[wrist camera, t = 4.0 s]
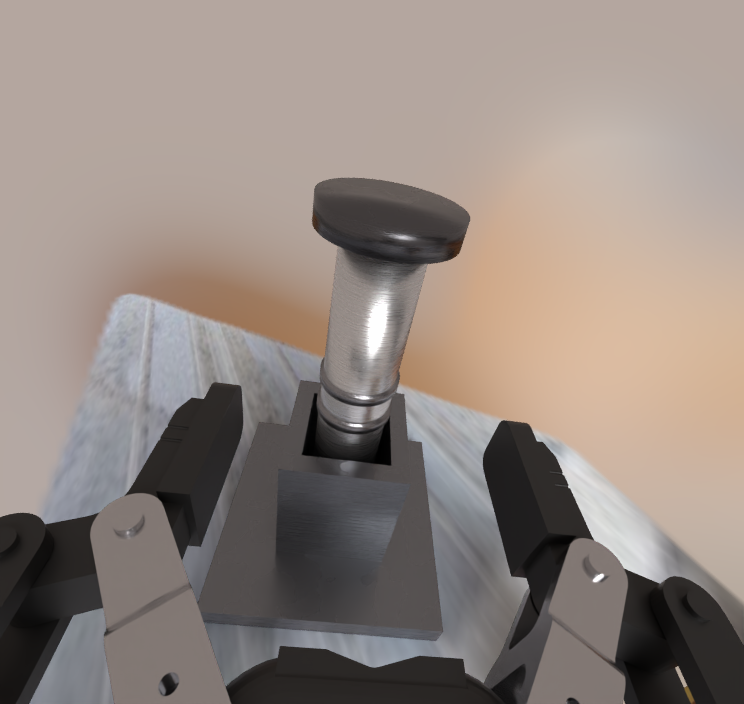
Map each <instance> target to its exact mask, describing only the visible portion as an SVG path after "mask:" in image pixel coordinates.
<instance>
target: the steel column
mask: <svg viewBox="0 0 744 704" xmlns="http://www.w3.org/2000/svg"><path fill="white" fill-rule="evenodd" d="M469 222H470V216H469V214H468V212H467V211H466V210H465V209H464V208H462V207H461V206H459V205H458V204H456V203H455V202H453V201H451V200H449V199H447V198H444V197H442V196H440V195H437V194H434V193H432V192H428V191H425V190H422V189H419V188H415V187H412V186H408V185H403V184H399V183H394V182H388V181H382V180H375V179H365V178H336V179H329V180H326V181H322V182H320V183H318V184H317V185H316V186H315V189H314V203H313V217H312V224H313V227H314V229H315V230H316V231H317V232H318V233H319V234H320V235H321V236H322V237H323V238H325V239H326V240H328V241H330V242H331V243H333V244H335V245H337V246H338V249H337V257H336V266H335V274H334V283H333V291H332V300H331V309H330V317H329V326H328V335H327V344H326V351H325V357H324V358H323V360H322V363H321V368H320V382H321V386H320V388H319V390H318V395H317V410H318V419H317V428H316V436H315V445H314V453H313V457H321V458H329V459H338V460H346V461H355V462H363V463H372V464H374V461H375V457H376V454H377V450H378V446H379V442H380V439H381V435H382V431H383V428H384V425H385V424H386V422H387V421H388V419H389V416H390V412H391V409H392V397H393V396H394V394H395V393H396V391H397V387H398V383H399V379H400V375H399V368H400V365H401V361H402V357H403V354H404V350H405V346H406V342H407V339H408V335H409V331H410V328H411V324H412V320H413V316H414V313H415V309H416V305H417V302H418V298H419V294H420V291H421V287H422V283H423V279H424V276H425V272H426V268H427V265H428V264H431V263H438V262H444V261H447V260H450V259H452V258H454V257H456V256H457V254H459V252H460V250H461V247H462V244H463V240H464V238H465V234H466V231H467V228H468V225H469Z"/></svg>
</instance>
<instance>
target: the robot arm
mask: <svg viewBox="0 0 744 704" xmlns="http://www.w3.org/2000/svg"><path fill="white" fill-rule="evenodd" d="M242 429H243V407H242V389H241V386H239V385H232V384H224V383H216V382H214V383H213V384H212V385H211V387H210V389H209V391H208V393H207V394H206V396H205V398H204V399H199V398H191V399H190V400H188V401H187V402H186V403H185V404H183V405H182V406H181V407H180V408H178V409H177V410H176V412H175V414H174V415H173V417H172V419H171V420H170V422H169V424H168V427H167V428H166V429H165V431H164V432H163V434H162V436H161V439H160V441H158V443H157V444H156V446H155V448H154V449H153V451H152V453H151V454H150V456H149V458H148V460H147V461H146V463H145V465H144V466H143V468H142V470H141V471H140V473H139V475H138V477H137V478H136V480H135V482H134V483H133V485H132V487H131V488H130V490H129V491H128V492H127V494H126V495H125V496H124V497H121V498H119V499H117V500H115V501H113V502H112V503H110V504H109V505H107V506H106V507H105V508H104V509H103V510H102V511H101V512H100V513H97V514H94V515H91V516H87V517H82V518H77V519H72V520H66V521H61V522H56V523H50V524H44V522H43V521H42V520H41V518H39V517H38V516H36V515H33V514H29V513H16V514H10V515H6V516H3V517H0V704H29V703H30V701H31V699H32V697H33V695H34V693H35V691H36V689H37V687H38V685H39V683H40V681H41V679H42V677H43V675H44V673H45V671H46V669H47V667H48V665H49V663H50V661H51V659H52V657H53V655H54V653H55V651H56V649H57V647H58V645H59V643H60V641H61V639H62V637H63V635H64V633H65V631H66V629H67V627H68V625H69V623H70V621H71V619H72V617H73V615H76V614H80V613H84V612H88V611H92V610H95V609H99V608H104V614H105V619H106V632H105V634H104V646H105V653H106V659H107V665H108V670H109V676H110V682H111V687H112V693H113V699H114V704H623V700H624V701H625V704H691V703H690V700H689V698H688V696H687V694H686V691H685V689H684V687H683V685H682V683H681V680H680V678H679V676H678V674H677V672H676V669H675V667H677V666H679V668H680V670H681V673H682V675H683V677H684V679H685V681H686V683H687V686H688V688H689V690H690V692H691V694H692V697H693V699H694V701H695V703H696V704H744V645H743V644H742V642H741V640H740V639H739V637H738V635H737V633H736V632H735V630H734V628H733V627H732V625H731V623H730V622H729V620H728V618H727V617H726V615H725V613H724V612H723V610H722V609H721V607H720V606H719V604H718V603H717V602H716V601H715V600H714V599H713V597H712V596H711V595H710V594H708V593H707V592H706V591H705V590H704V589H703V588H701V587H700V586H699V585H697V584H695V583H694V582H692V581H690V580H688V579H685V578H682V577H676V576H674V577H670V578H668V579H666V580H665V581H663V582H662V583H661V584H659V583H657V582H654V581H652V580H650V579H647V578H645V577H642V576H640V575H638V574H635V573H633V572H631V571H628V570H626V569H624V568H623V566H622V564H621V563H620V561H619V560H618V559H617V557H616V556H615V555H614V554H613V553H612V552H611V551H610V550H609V549H607V548H606V547H605V546H603V545H602V544H600V543H598V542H596V541H594V539H593V537H592V536H591V533H590V531H589V529H588V527H587V525H586V522H585V520H584V518H583V516H582V514H581V511H580V509H579V507H578V505H577V503H576V500H575V498H574V496H573V494H572V492H571V490H570V488H568V483H567V481H566V479H565V476H564V475H562V473H563V472H562V470H561V468H560V465H559V463H558V461H557V459H556V457H555V456H554V454H553V453H552V452H551V451H550V450H549V449H548V447H547V446H546V445H545V444H544V443H543V442H537V441H536V438H535V436H534V434H533V431H532V429H531V427H530V425H529V424H527V423H521V422H513V421H505V420H503V421H501V422H500V423H499V425H498V427H497V429H496V431H495V433H494V435H493V437H492V438H491V440H490V442H489V444H488V446H487V448H486V450H485V452H484V456H483V470H484V474H485V478H486V481H487V485H488V489H489V493H490V497H491V500H492V504H493V508H494V512H495V516H496V519H497V523H498V527H499V531H500V535H501V538H502V542H503V546H504V550H505V554H506V557H507V561H508V565H509V569H510V573H511V576H512V577H523V578H527V581H528V585H529V588H528V589H527V591H526V593H525V595H524V597H523V600H522V602H521V605H520V607H519V610H518V612H517V615H516V617H515V620H514V622H513V625H512V627H511V630H510V632H509V635H508V637H507V640H506V642H505V645H504V647H503V650H502V652H501V654H500V656H499V658H498V659H497V661H496V662H495V664H494V665H493V667H492V669H491V670H490V672H489V674H488V676H487V678H486V680H485V682H484V684H483V683H482V682H480V681H479V680H477V679H475V678H474V677H472V676H470V675H469V674H466V673H465V669H464V662H463V659H456V658H442V657H428V656H417V657H414V658H410V659H407V660H403V661H399V662H396V663H392V664H388V665H385V666H381V667H377V668H372V667H368V666H366V665H363V664H361V663H358V662H356V661H354V660H351V659H349V658H346V657H344V656H341V655H339V654H336V653H334V652H332V651H329V650H327V649H314V648H300V647H286V646H280V649H279V655H278V658H276V659H272V660H268V661H265V662H263V663H261V664H258V665H256V666H254V667H252V668H251V669H249V670H247V671H245V672H244V673H242V674H241V675H240V676H238V677H237V678H236V679H234V680H233V681H232V682H231V683H230V684H229V685H227V686H226V687H225V684H224V681H223V678H222V675H221V672H220V669H219V666H218V663H217V660H216V657H215V654H214V652H213V649H212V646H211V643H210V640H209V637H208V634H207V631H206V628H205V625H204V622H203V619H202V616H201V613H200V610H199V607H198V604H197V601H196V598H195V596H194V593H193V590H192V587H191V585H190V583H189V580H188V577H187V574H186V572H185V569H184V566H183V563H182V559H183V556H184V554H185V551H186V549H187V546H188V545H189V546H200V547H201V544H202V541H203V539H204V536H205V533H206V531H207V528H208V525H209V522H210V520H211V517H212V514H213V512H214V509H215V506H216V504H217V501H218V498H219V495H220V493H221V490H222V487H223V485H224V482H225V479H226V477H227V474H228V471H229V468H230V466H231V463H232V460H233V458H234V455H235V452H236V449H237V447H238V444H239V441H240V438H241V434H242Z"/></svg>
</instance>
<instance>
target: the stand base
mask: <svg viewBox="0 0 744 704" xmlns="http://www.w3.org/2000/svg"><path fill="white" fill-rule="evenodd" d="M320 386H321V383H317V382H309V381H302V380H301V381H300V385H299V389H298V393H297V397H296V401H295V405H294V409H293V413H292V417H291V421H290V425H289V426H287V425H279V424H271V423H263V422H259V425H258V428H257V431H256V434H255V437H254V440H253V443H252V445H251V448H250V451H249V454H248V457H247V460H246V463H245V466H244V469H243V472H242V475H241V478H240V481H239V484H238V487H237V490H236V493H235V495H234V498H233V501H232V504H231V507H230V510H229V513H228V516H227V519H226V522H225V525H224V528H223V531H222V534H221V537H220V540H219V543H218V545H217V548H216V551H215V554H214V557H213V560H212V563H211V566H210V569H209V572H208V575H207V578H206V581H205V584H204V587H203V590H202V593H201V595H200V598H199V601H198V607H199V610H200V613H201V616H202V619H203V622H207V623H220V624H232V625H245V626H257V627H270V628H282V629H295V630H308V631H320V632H333V633H345V634H358V635H371V636H383V637H396V638H408V639H421V640H433V641H436V640H437V639H438V638H439V636H440V635H441V634H442V632H443V628H442V619H441V611H440V602H439V593H438V584H437V575H436V566H435V557H434V548H433V539H432V531H431V522H430V513H429V504H428V495H427V486H426V477H425V468H424V460H423V451H422V442H415V441H408V438H407V425H406V412H405V399H404V394H398V393H395V394H394V396H393V397H392V409H391V412H390V416H389V419H388V421H387V422H386V424H385V425H384V428H383V431H382V435H381V439H380V442H379V446H378V450H377V454H376V457H375V461H374V464H372V463H363V462H355V461H346V460H338V459H329V458H321V457H313V453H314V445H315V436H316V428H317V419H318V410H317V395H318V390H319V388H320Z"/></svg>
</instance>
